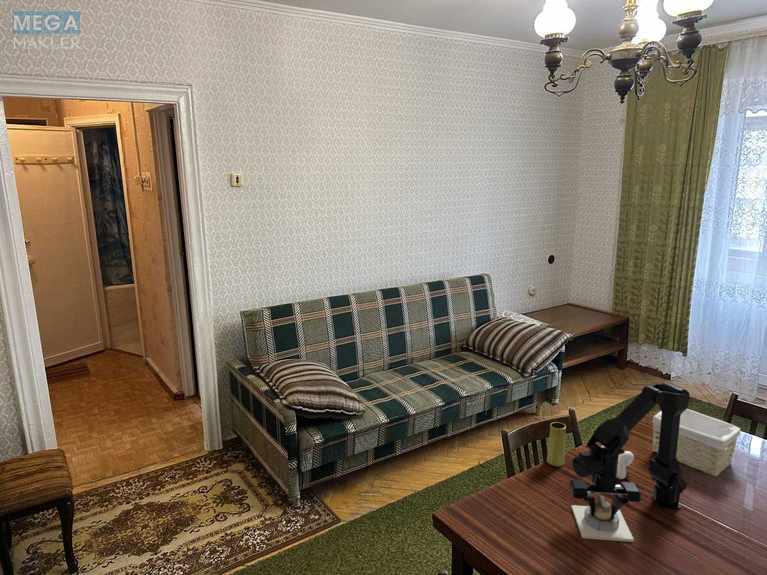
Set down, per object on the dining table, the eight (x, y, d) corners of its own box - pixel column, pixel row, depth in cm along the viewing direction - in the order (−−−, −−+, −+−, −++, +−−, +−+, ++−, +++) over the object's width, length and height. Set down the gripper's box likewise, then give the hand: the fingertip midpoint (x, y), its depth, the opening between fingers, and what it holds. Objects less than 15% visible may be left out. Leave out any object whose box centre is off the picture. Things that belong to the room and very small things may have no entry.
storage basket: (737, 464, 189) (743, 426, 185) (718, 481, 179) (724, 441, 176) (667, 438, 207) (672, 402, 204) (647, 452, 197) (651, 415, 194)
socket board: (618, 510, 165) (619, 501, 164) (633, 541, 151) (634, 532, 150) (571, 507, 166) (572, 498, 166) (582, 538, 153) (582, 528, 152)
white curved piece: (586, 470, 186) (588, 447, 184) (605, 458, 193) (607, 436, 191) (618, 485, 177) (620, 461, 175) (636, 472, 185) (638, 448, 183)
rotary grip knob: (613, 528, 155) (615, 509, 154) (595, 527, 156) (597, 508, 154) (607, 514, 161) (608, 495, 160) (589, 512, 162) (591, 494, 160)
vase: (565, 467, 188) (568, 430, 185) (547, 465, 189) (549, 428, 186) (563, 458, 194) (566, 422, 190) (545, 456, 195) (548, 420, 192)
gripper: (630, 454, 161) (626, 500, 165) (566, 451, 163) (563, 497, 167) (644, 476, 150) (638, 524, 154) (575, 472, 152) (571, 520, 156)
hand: (601, 515), depth 158 cm, fingers open, 5 cm apart
